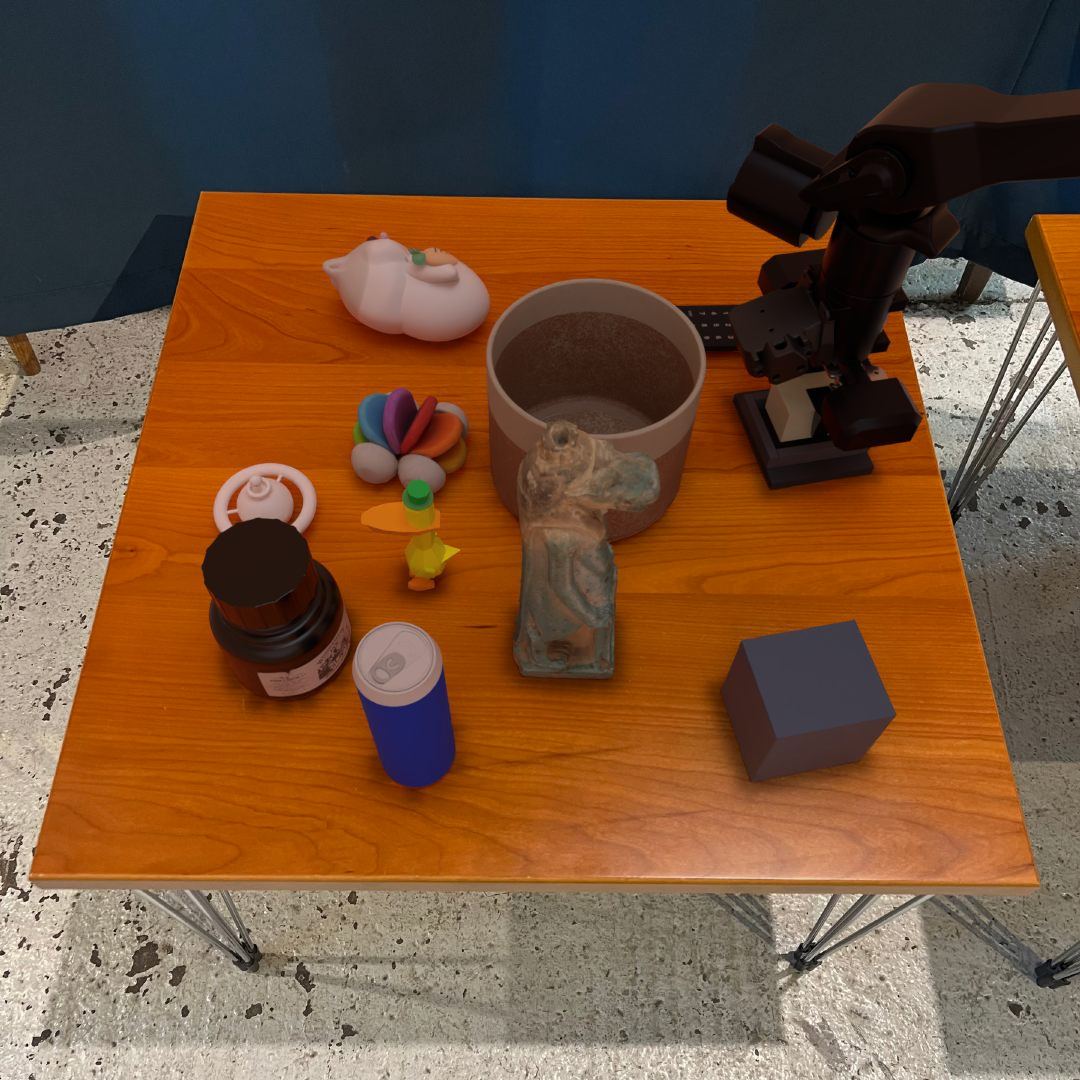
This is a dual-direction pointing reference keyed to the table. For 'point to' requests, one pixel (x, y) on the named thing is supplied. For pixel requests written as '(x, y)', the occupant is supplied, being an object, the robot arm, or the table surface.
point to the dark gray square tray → (794, 449)
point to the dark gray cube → (805, 700)
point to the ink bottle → (275, 610)
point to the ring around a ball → (265, 496)
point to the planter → (595, 381)
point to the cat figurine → (409, 290)
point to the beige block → (794, 405)
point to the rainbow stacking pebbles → (408, 439)
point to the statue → (573, 549)
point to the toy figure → (414, 532)
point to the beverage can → (406, 702)
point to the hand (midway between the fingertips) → (807, 416)
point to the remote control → (712, 326)
